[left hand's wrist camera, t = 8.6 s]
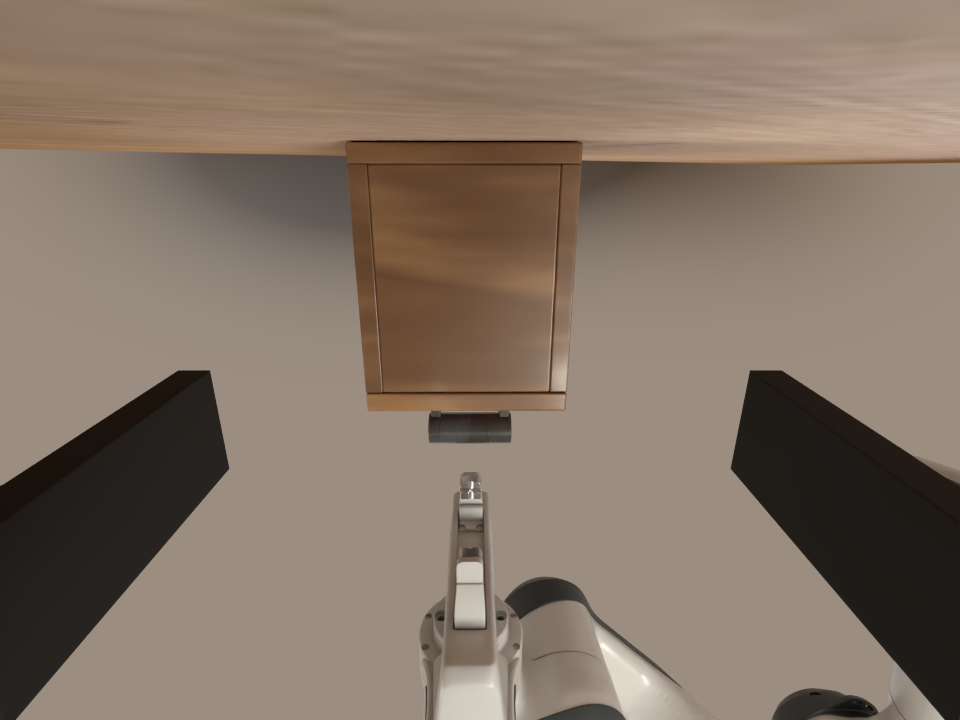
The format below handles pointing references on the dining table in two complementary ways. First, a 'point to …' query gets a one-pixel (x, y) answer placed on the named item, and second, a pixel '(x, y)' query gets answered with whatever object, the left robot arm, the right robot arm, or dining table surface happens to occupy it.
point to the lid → (467, 423)
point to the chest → (465, 263)
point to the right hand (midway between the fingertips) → (470, 511)
